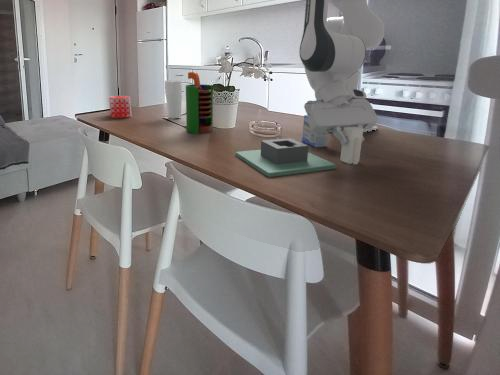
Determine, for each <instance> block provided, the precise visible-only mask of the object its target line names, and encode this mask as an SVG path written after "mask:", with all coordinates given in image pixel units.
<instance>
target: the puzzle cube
mask: <svg viewBox="0 0 500 375" xmlns="http://www.w3.org/2000/svg"><path fill="white" fill-rule="evenodd" d="M108 101H109V109H110V110H109V112H110V118H111V119H112V118H113V119H115V118H118V117H119V118H132V107H131V96H130V95H110V96H109V98H108Z"/></svg>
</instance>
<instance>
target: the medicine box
mask: <svg viewBox="0 0 500 375" xmlns="http://www.w3.org/2000/svg"><path fill="white" fill-rule="evenodd" d="M302 124H303V126H302V134H301V135H302V137H301V138H302V139H301V143H303V144H306V145H308V146H311V147H314V148H321V147H327V145H328V144H327V142H328V134H329V132H324V133H314V132H313V131H312V130H311V128H310V125H309V122H308V117H307V114H304V116H303V123H302Z"/></svg>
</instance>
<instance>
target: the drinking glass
mask: <svg viewBox="0 0 500 375" xmlns="http://www.w3.org/2000/svg"><path fill="white" fill-rule="evenodd" d="M182 83H183V82H182V81H181V80H179V79H178V80H174V79H173V80H172V79H171V80H164V92H165V93H164V94H165V99H166V107H167V115H168V116H167V117H168V119H171V118H179V117H181V118H182V98H183V96H182V95H183V88H182V87H183V84H182ZM179 119H180V118H179Z"/></svg>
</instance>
